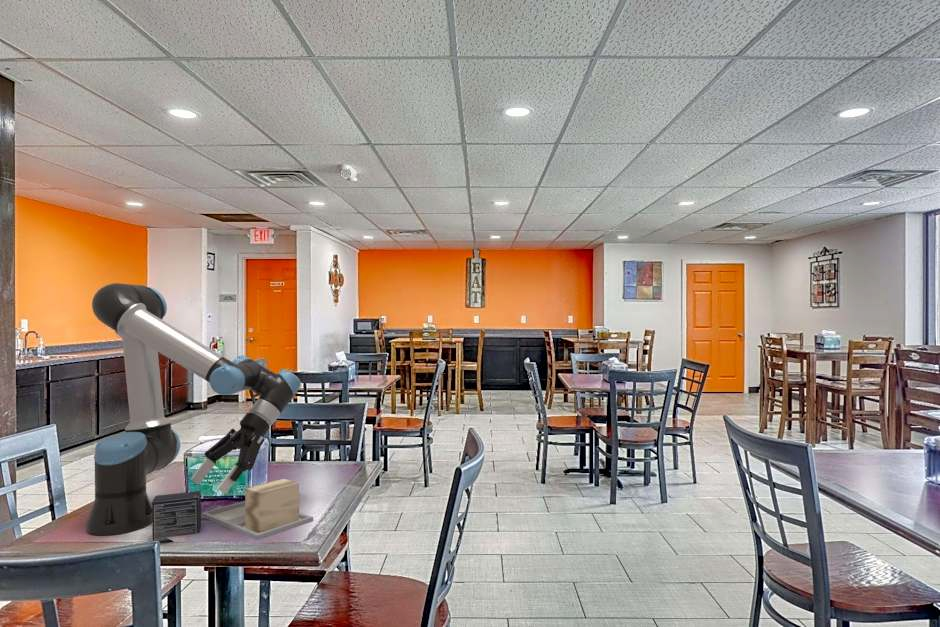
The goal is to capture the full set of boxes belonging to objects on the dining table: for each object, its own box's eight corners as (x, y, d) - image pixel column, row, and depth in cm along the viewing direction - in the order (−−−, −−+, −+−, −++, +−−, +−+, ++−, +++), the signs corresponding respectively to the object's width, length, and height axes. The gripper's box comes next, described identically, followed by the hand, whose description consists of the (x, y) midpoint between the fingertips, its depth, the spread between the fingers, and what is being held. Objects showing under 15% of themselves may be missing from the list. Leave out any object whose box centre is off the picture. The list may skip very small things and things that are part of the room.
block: (245, 528, 144) (245, 488, 144) (283, 516, 152) (283, 478, 152) (260, 534, 139) (260, 493, 140) (299, 521, 148) (299, 483, 148)
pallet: (201, 522, 153) (201, 512, 153) (255, 506, 165) (255, 497, 165) (257, 546, 136) (257, 535, 136) (313, 526, 148) (313, 517, 148)
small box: (202, 530, 147) (201, 489, 147) (199, 539, 141) (199, 496, 141) (155, 536, 143) (155, 494, 143) (151, 545, 137) (151, 501, 137)
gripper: (294, 432, 153) (244, 503, 141) (243, 422, 168) (194, 486, 156) (277, 415, 149) (223, 486, 137) (226, 407, 164) (174, 471, 152)
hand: (207, 486), depth 147 cm, fingers open, 13 cm apart
